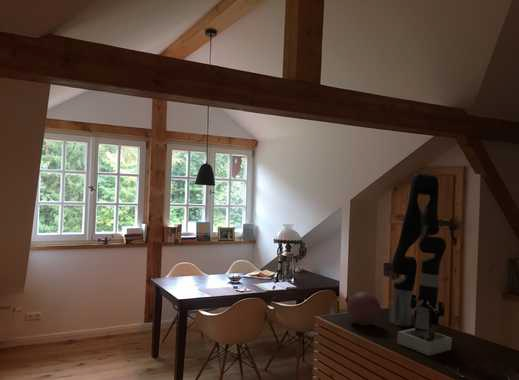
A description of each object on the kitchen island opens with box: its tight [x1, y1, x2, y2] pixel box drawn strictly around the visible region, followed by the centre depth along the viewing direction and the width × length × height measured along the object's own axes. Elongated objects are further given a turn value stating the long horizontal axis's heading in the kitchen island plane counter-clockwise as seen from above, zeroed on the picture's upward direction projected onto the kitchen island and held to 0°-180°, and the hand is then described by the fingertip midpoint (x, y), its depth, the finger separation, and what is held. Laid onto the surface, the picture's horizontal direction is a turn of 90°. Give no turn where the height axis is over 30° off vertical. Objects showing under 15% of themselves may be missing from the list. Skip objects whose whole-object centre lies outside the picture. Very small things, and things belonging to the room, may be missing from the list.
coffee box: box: [414, 305, 438, 341], centre depth 186 cm, size 9×6×16 cm
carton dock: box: [396, 327, 453, 357], centre depth 186 cm, size 15×16×5 cm
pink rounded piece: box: [344, 291, 382, 326], centre depth 212 cm, size 15×20×15 cm
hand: (425, 322), depth 186 cm, fingers open, 8 cm apart
